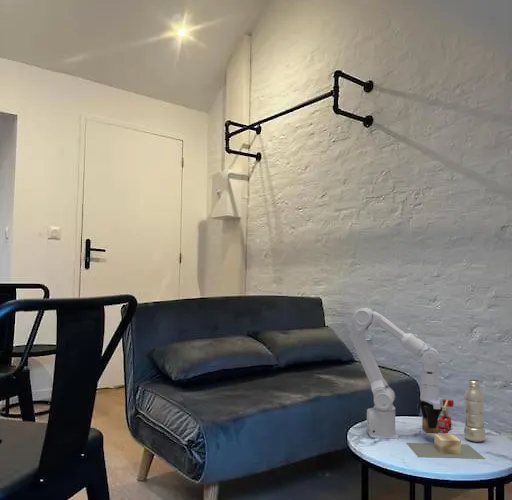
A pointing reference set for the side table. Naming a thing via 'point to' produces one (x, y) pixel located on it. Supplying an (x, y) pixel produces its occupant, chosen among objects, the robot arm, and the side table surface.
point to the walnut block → (426, 427)
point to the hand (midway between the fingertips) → (430, 425)
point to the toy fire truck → (442, 423)
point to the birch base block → (447, 444)
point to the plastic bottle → (474, 412)
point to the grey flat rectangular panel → (431, 452)
